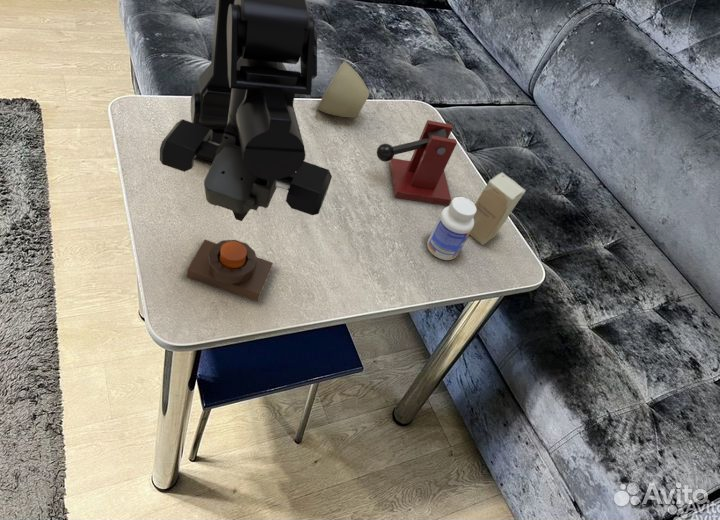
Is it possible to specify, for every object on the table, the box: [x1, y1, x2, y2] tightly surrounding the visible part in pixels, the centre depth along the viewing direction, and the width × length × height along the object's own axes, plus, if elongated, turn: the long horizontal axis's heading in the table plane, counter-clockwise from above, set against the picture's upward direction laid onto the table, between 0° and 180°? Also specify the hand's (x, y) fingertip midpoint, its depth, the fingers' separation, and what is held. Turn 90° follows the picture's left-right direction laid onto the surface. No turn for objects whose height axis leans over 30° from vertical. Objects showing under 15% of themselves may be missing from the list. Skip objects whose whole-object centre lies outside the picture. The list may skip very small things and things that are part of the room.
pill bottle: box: [426, 196, 476, 261], centre depth 92 cm, size 5×5×10 cm
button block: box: [186, 239, 274, 302], centre depth 80 cm, size 10×6×4 cm, turn 78°
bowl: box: [316, 60, 370, 118], centre depth 110 cm, size 10×10×7 cm
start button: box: [220, 241, 247, 269], centre depth 78 cm, size 3×3×2 cm
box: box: [469, 171, 526, 246], centre depth 97 cm, size 5×4×11 cm
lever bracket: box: [388, 119, 458, 206], centre depth 101 cm, size 10×9×12 cm
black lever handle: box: [376, 129, 447, 163], centre depth 98 cm, size 12×3×3 cm, turn 94°
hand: (239, 218), depth 73 cm, fingers closed
